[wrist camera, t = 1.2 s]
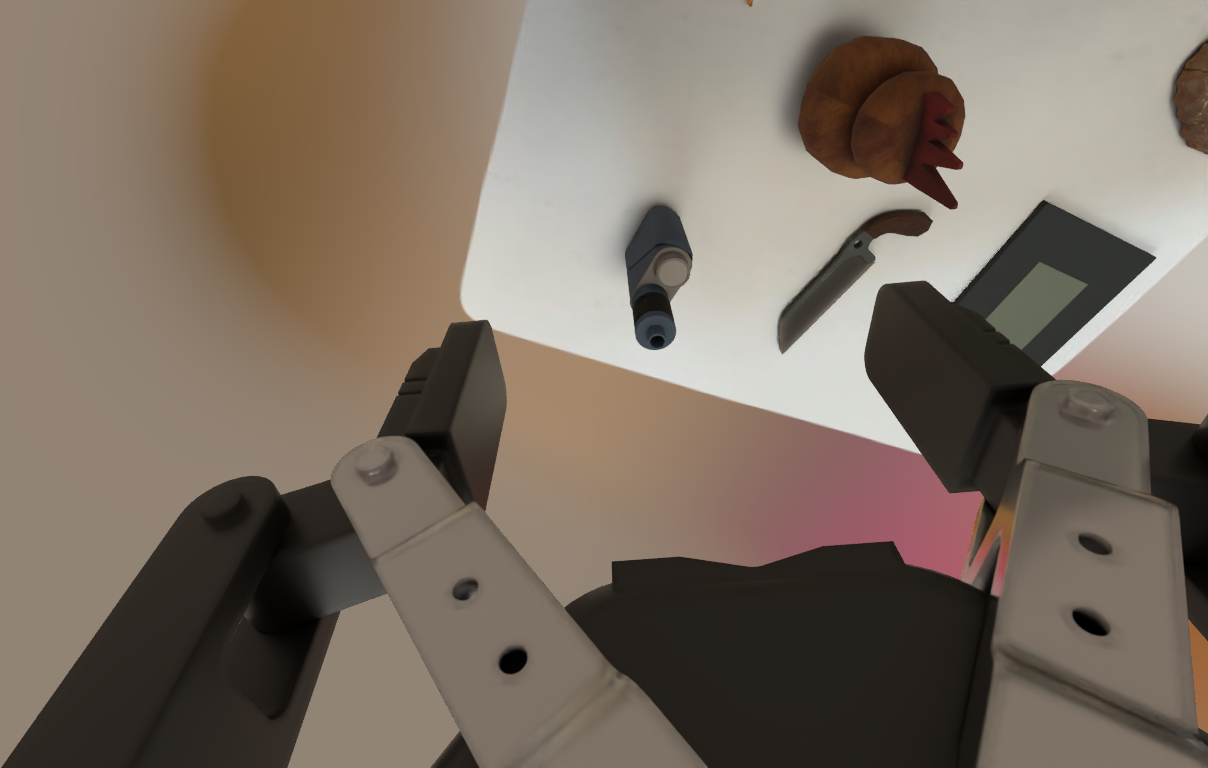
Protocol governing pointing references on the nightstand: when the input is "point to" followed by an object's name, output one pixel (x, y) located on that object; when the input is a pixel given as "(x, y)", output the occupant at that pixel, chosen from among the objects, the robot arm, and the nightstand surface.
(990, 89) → the nightstand surface
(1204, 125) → the figurine
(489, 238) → the nightstand surface
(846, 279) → the knife
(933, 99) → the wooden figurine
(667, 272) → the vaping device
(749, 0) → the bullet
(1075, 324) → the mat
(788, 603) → the robot arm
